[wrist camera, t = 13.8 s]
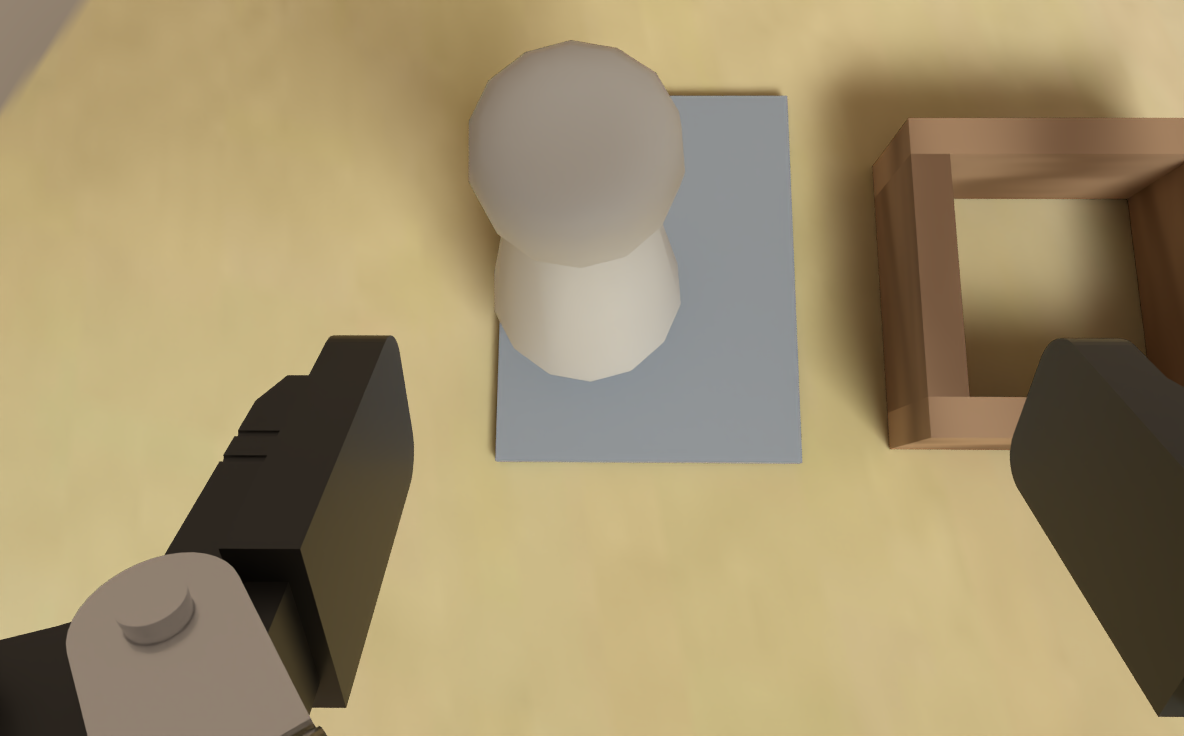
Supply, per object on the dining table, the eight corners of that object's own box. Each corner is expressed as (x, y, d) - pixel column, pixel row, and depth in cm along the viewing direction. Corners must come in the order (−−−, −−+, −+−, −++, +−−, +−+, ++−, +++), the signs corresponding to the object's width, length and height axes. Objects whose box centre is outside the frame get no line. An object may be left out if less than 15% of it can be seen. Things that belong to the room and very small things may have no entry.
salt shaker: (546, 202, 29) (498, -61, 16) (699, 264, 28) (778, 44, 15) (474, 353, 28) (363, 203, 15) (632, 420, 27) (657, 324, 14)
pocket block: (889, 449, 27) (931, 437, 24) (872, 166, 29) (908, 118, 26) (1195, 451, 27) (1282, 439, 24) (1158, 166, 29) (1233, 118, 25)
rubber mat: (497, 461, 27) (495, 460, 27) (507, 101, 30) (506, 95, 29) (799, 463, 27) (802, 462, 27) (784, 101, 30) (787, 95, 29)
